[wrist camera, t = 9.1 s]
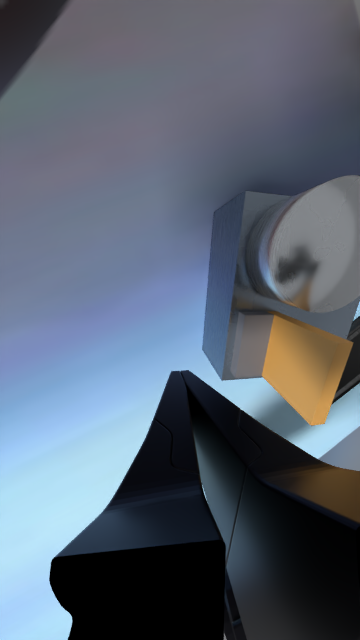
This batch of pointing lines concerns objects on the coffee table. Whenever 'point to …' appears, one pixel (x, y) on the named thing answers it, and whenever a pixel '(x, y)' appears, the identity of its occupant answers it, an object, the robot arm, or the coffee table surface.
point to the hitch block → (247, 283)
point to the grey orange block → (291, 360)
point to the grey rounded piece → (309, 248)
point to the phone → (351, 363)
